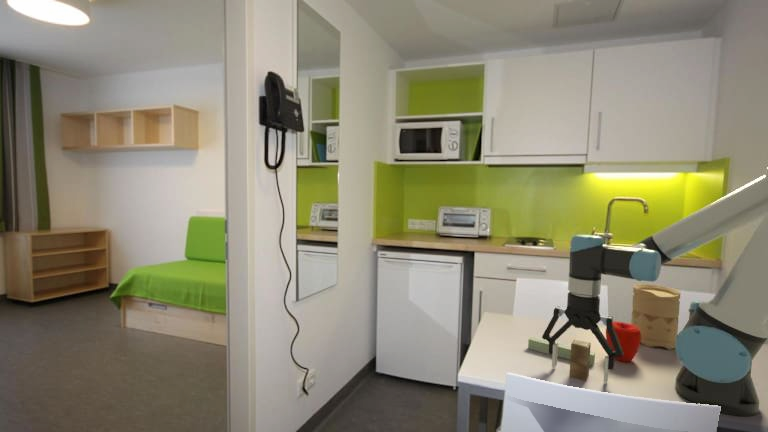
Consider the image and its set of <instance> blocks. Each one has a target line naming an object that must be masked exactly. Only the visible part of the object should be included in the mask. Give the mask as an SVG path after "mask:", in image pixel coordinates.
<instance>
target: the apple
mask: <svg viewBox="0 0 768 432" xmlns="http://www.w3.org/2000/svg"><path fill="white" fill-rule="evenodd" d="M605 327H606V326H605ZM613 327H614V329H615V332H616V334H617V337H618V340H619V342H620V345H621V347H622V350H623V356H622V358H619V357H616V358H615V359H614V360H617V361H620V362H623V363H624V362H626V363H627V362H628V363H629V362H632V361H633V359H634V358H635V356H636V355H637V353H638V351H639V349H640V346H641V344H642V343H641V332H640V329H639V328H637V327H636V326H634V325H631V323H627V322H621V321H613ZM605 338H606V340H607V341H608V343H609V344H610V346H611V347H612V349H613V350H614V351H615V349H614V346H613V344H612V341H611V339H610V336H609V333H608V331H607V327H606V328H605Z"/></svg>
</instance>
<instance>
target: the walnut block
mask: <svg viewBox="0 0 768 432" xmlns="http://www.w3.org/2000/svg"><path fill="white" fill-rule="evenodd" d="M591 343H592V342H587V341H584V340H579V339H575V338H574V339H573V340H572V342H571V344H570V347H571V357H570V360H569V364H570V365H569V377H570V378H572V379H577V380H580V381H584V382H587V380H588V379H589V376H590V365H589V364H590V352H591V345H592V344H591Z"/></svg>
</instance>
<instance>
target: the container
mask: <svg viewBox="0 0 768 432" xmlns="http://www.w3.org/2000/svg"><path fill="white" fill-rule="evenodd" d="M632 292H633V295H632V303H631V304H632V311H631V319H630V320H631V321H630V322H631V323H630V324H631V325H634V326H636V327H637V328H639V329H640V332H641V343H640V344H641V345H643V346H645V347H647V348H654V347H661V348H665V349H666V350H669V351H671V350H674V349H676V344H675V343H676V337H677V335H678V334H679V316H680V306H681V305H680V303H681V301H680V299H681V291H680V290H678V289H676V288H672V287H669V286H663V285H656V284H649V283H648V284H647V283H642V284H641V283H638V284H634V285H633V291H632Z"/></svg>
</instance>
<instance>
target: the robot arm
mask: <svg viewBox="0 0 768 432" xmlns="http://www.w3.org/2000/svg"><path fill="white" fill-rule="evenodd" d="M761 218H762V220H761V221H760V222H759V225H758V227H757V228H756V230H754V233H753V234H752V236H751V238H750V239H749V241H748V242H747V244H746V245H745V247H744V248H743V250H742V252H741V253H740V255H739V256H738V257H737V260H736V261H735V263H734V264H733V266H732V268H731V269H730V271H729V272H728V274H727V275H726V277H725V279H724V281H723V282H722V284H721V285H720V287H719V288H718V289H717V291H716V293H715V295H714V296H713V298H712V299H711V300H694V301H692V302H691V303H690V306H689V309H688V313H689V316H688V320H687V322H686V324H685V325H684V327H683V329H682V330H681V331H679V332H678V334H677V337H676V343H675V344H676V348H675V353H676V355H677V358H678V359H679V361H680V362H681V364H682V366H681V368H680V370H679V372H678V373H677V374H676V377H675V381H674V382H675V385H674V388H675V390H676V391H677V393H678V394H679V395H681V396H682V397H683V398H685V399H687V400H688V401H690V402H692V403H694V404H696V403H700V404H709V405H718V406H721V412H720V413H723V414H727V415H732V416H738V417H739V416H740V417H751V416H755V415H757V414H759V410H760V399H759V396H758V394H757V390H756V387H755V384H754V382H753V379H752V365H753V360H754V358H755V357H756V356H757V354H758V353H759V351H760V350H761V348H762V347H763V346H764V344H766V343H765V342H766V341H767V340H768V329H767V327H766V323H767V321H768V167H767V168H766V169H765V173H764V174H763V175H762V176H760V177H758V178H756V179H754V180H753V181H750V182H748V183H746V184H745V185H743V186H741V187H740V188H737V189H736V190H734V191H732V192H731V193H728V194H726V195H725V196H723V197H721V198H719V199H717V200H716V201H714V202H712V203H710V204H708V205H706V206H704V207H701V208H700V209H699V210H697V211H695V212H693V213H691V214H689V215H687V216H685V217H684V218H681V219H679V220H678V221H676V222H674V223H672V224H671V225H669V226H667V227H665V228H663V229H662V230H660V231H657V232H656V233H653V234H652V235H651V236H648V237H646V238H644V239H643V240H640V241H638V242H636V243H635V244H632V245H630V246H617V245H610V244H605V242H604V238H603V237H602V236H599V235H593V234H576V235H574V236H572V237H571V241H570V250H569V251H568V252H569V270H568V271H569V272H568V281H567V283H568V285H567V286H568V287H567V289H568V290H567V291H569V292H568V293H567V302H566V303H567V305H566V308H562V307H560V306H558V305H557V306H556V307H555V308H553V315H552V318H551V319H550V321H549V322H548V324H547V326H546V329H544V330H545V331H544V332H543V334H542V336H541V338H542V340H545V341H548V342H549V354H548V355H550V354H552V355H551V356H552V358H551V368H552V369H555V368H556V367H557V366H558V356H557V355H558V344H559V342H558V341H557V340H558V339H560V337H561V336H562V335H563V334H564V333H565V332H566V331H567V330H568V329H570V328H571V327H572V326H573V327H574V328H576V329H583V330H584V331H589V330H590V331H591V333H592V334H593V335H594V337H595V338H596V340H597V341H598V343H599V344H600V345H601V348H603V350H604V351H605V353H606V354H605V357H604V364H603V365H604V366H603V367H604V369H603V381H602V382H603V383H608V380H609V372H610V371H613V370H614V368H615V360H616V359H615V358H616V357H619V358H622V356H623V350H622V347H621V345H620V342H619V340H618V337H617V334H616V332H615V329H614V327H613V322H614V318H613V316H611V315H609V316H604V315H601V314H600V303H601V302H600V301H601V298H600V296H599V295H600V294H601V286H602V275H606V276H612V277H618V278H624V279H630V280H636V281H639V282H641V281H643V282H656V281H657V280H658V279H659V278H660V277H659V276H660V274H661V269H662V268H661V267H662V266H663V265H665V264H668V263H669V262H671V261H673V260H675V259H678V258H680V257H682V256H684V255H687V254H688V253H690V252H692V251H694V250H696V249H698V248H700V247H702V246H705V245H707V244H709V243H711V242H713V241H716V240H718V239H719V238H721V237H724V236H726V235H728V234H731V233H732V232H735V231H736V230H738V229H741V228H742V227H745V226H747V225H749V224H752V223H753V222H755V221H757V220H759V219H761ZM563 315H565V316H566V318H567V319H568V320H567V321H566V322H565V324H563V325H562V326H561V327H559V329H558V330H557V331H556V332H555V333H554V334H553V335H550V334H551V333H552V331H553V329H554V328H555V326H556V323H557V322H558V320H559V318H560V317H562V316H563ZM600 321H601V322H602V324H603V325H604V326H605V327H607V331H608V333H609V336H610V339H611V341H612V344H613V346H614V349H615V351H614V350H613V349H612V347H611V346H610V344H609V343H608V341H607V340H606V336H605V335H604V333H603V332H602V331H601V330H600V327H599V326H598V323H599V322H600Z"/></svg>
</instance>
